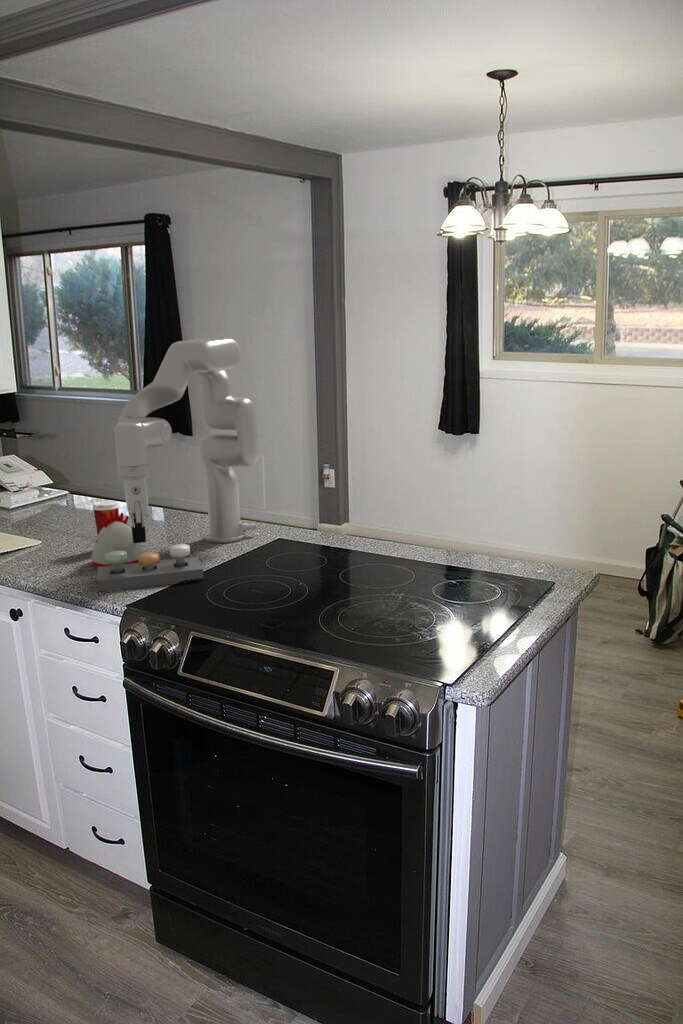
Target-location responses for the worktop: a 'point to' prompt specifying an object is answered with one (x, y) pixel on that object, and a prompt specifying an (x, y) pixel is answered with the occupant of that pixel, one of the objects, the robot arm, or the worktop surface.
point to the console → (148, 574)
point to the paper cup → (104, 507)
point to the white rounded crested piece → (115, 540)
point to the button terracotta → (148, 560)
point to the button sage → (116, 560)
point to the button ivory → (180, 553)
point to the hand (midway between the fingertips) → (139, 541)
